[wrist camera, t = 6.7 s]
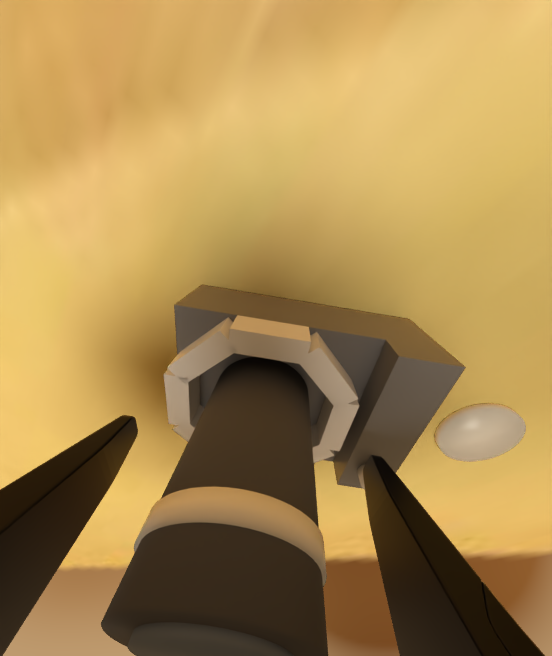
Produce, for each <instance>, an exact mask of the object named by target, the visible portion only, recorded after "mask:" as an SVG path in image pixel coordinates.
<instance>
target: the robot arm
mask: <svg viewBox="0 0 552 656" xmlns="http://www.w3.org/2000/svg"><path fill="white" fill-rule="evenodd" d="M137 434H138V429H137V424H136V419H135V417H133V416H127V415H123V416H120V417H119V418H117V419H115V420H114V421H112V422H111V423H109V424H107V425H106V426H104V427H102V428H101V429H99V430H97V431H96V432H94V433H92V434H91V435H89V436H88V437H86V438H84V439H83V440H81V441H79V442H78V443H76V444H74V445H73V446H71V447H70V448H68V449H66V450H65V451H63V452H61V453H60V454H58V455H56V456H55V457H53V458H51V459H50V460H48V461H47V462H45V463H43V464H42V465H40V466H38V467H37V468H35V469H33V470H32V471H30V472H29V473H27V474H25V475H24V476H22V477H20V478H19V479H17V480H15V481H14V482H12V483H11V484H9V485H7V486H6V487H4V488H2V489H1V490H0V656H3V654H4V653H5V651H6V649H7V648H8V646H9V645H10V643H11V642H12V640H13V638H14V636H15V635H16V633H17V632H18V631H19V629H20V627H21V626H22V624H23V623H24V621H25V619H26V618H27V616H28V615H29V613H30V612H31V610H32V608H33V607H34V605H35V604H36V602H37V601H38V599H39V597H40V596H41V594H42V593H43V591H44V590H45V588H46V586H47V585H48V583H49V582H50V580H51V579H52V577H53V576H54V574H55V572H56V571H57V569H58V568H59V566H60V565H61V563H62V561H63V560H64V558H65V557H66V555H67V554H68V552H69V550H70V549H71V547H72V546H73V544H74V543H75V541H76V539H77V538H78V536H79V535H80V533H81V532H82V530H83V528H84V527H85V525H86V524H87V522H88V521H89V519H90V517H91V516H92V514H93V513H94V511H95V510H96V508H97V506H98V505H99V503H100V502H101V500H102V499H103V497H104V495H105V494H106V492H107V491H108V489H109V487H110V486H111V484H112V483H113V481H114V479H115V477H116V475H117V474H118V472H119V470H120V468H121V466H122V464H123V462H124V460H125V458H126V456H127V454H128V452H129V450H130V449H131V447H132V445H133V443H134V441H135V439H136V437H137ZM363 478H364V485H365V493H366V500H367V508H368V515H369V521H370V526H371V531H372V535H373V540H374V544H375V548H376V553H377V557H378V562H379V566H380V570H381V575H382V579H383V583H384V588H385V592H386V597H387V601H388V605H389V610H390V614H391V619H392V623H393V628H394V632H395V636H396V641H397V645H398V650H399V654H400V656H545V655H544V654H543V653H542V652H541V651H540V649H539V648H538V647H537V646H536V645H535V644H534V642H533V641H532V640H531V639H530V638H529V637H528V635H526V633H525V632H524V631H523V630H522V629H521V627H520V626H519V625H518V624H517V622H516V621H515V620H514V619H513V618H512V617H511V615H510V614H509V613H508V612H507V610H506V609H505V608H504V607H503V606H502V604H501V603H500V602H499V601H498V599H497V598H496V597H495V596H494V595H493V593H492V592H491V591H490V590H489V588H488V587H487V586H486V585H485V583H483V582H481V579H480V577H479V576H478V575H477V574H476V572H475V571H474V570H473V569H472V567H471V566H470V565H469V564H468V562H467V561H466V560H465V559H464V557H463V556H462V555H461V554H460V552H459V551H458V550H457V549H456V548H455V546H454V545H453V544H452V543H451V541H450V540H449V539H448V538H447V536H446V535H445V534H444V533H443V531H442V530H441V529H440V528H439V526H438V525H437V524H436V523H435V521H434V520H433V519H432V518H431V517H430V515H429V514H428V513H427V512H426V510H425V509H424V508H423V507H422V505H421V504H420V503H419V502H418V500H417V499H416V498H415V497H414V495H413V494H412V493H411V492H410V490H409V489H408V488H407V487H406V486H405V484H404V483H403V482H402V481H401V479H400V478H399V477H398V476H397V474H396V473H395V472H394V471H393V469H392V468H391V467H390V466H389V464H388V463H387V462H386V461H385V459H384V458H382V457H381V456H376V455H370V456H369V458H368V460H367V462H366V463H365V465H364V468H363Z"/></svg>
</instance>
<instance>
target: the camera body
mask: <svg viewBox="0 0 552 656" xmlns="http://www.w3.org/2000/svg"><path fill="white" fill-rule="evenodd" d="M174 309H175V325H176V341H177V356H176V357H175V358H174V359H173V361H172V362H171V363H170V364H169V365H168V367H167V368H168V369H167V371H166V372H165V373H164V383H165V393H166V403H167V413H168V422H169V424H173V425H174V427H173V429H172V430H174V431H175V432H176V433H177V434H179V435H180V436H181V437H182V438H184V439H185V440H186V441H187V442H189V440H190V437H191V435H192V433H193V431H194V429H195V427H196V425H197V423H198V421H199V419H200V417H201V415H202V413H203V410H204V408H205V406H206V404H207V402H208V400H209V398H210V396H211V394H212V392H213V390H214V388H215V386H216V384H217V381H218V379H219V377H220V375H221V374H222V372H223V371H224V370H225V369H226V368H227V367H228V366H229V365H231V364H232V363H234V362H236V361H238V360H241V359H244V358H248V357H260V358H266V359H273V360H279V361H282V362H284V363H286V364H288V365H289V366H291V367H292V368H294V369H295V370H296V371H297V372H298V373H299V374H300V375H301V376H302V378H303V379H304V381H305V383H306V385H307V388H308V395H309V408H310V421H311V434H312V448H313V461H314V463H316V462H318V461H321V460H327V461H333V462H334V468H335V474H336V480H337V484H338V485H344V486H350V487H356V488H363V489H364V490H365V485H364V478H363V468H364V465H365V463H366V462H367V460H368V458H369V456H370V455H376V456H381V457H382V458H384V459H385V461H386V462H387V463H388V464H389V466H390V467H391V468H392V469H393V471H394V472H395V473H396V472H397V470H398V469H399V467H400V466H401V464H402V463H403V461H404V460H405V458H406V457H407V455H408V454H409V452H410V451H411V449H412V448H413V446H414V445H415V443H416V441H417V440H418V438H419V437H420V435H421V434H422V432H423V431H424V429H425V428H426V426H427V425H428V423H429V422H430V420H431V419H432V417H433V416H434V414H435V413H436V411H437V410H438V408H439V407H440V405H441V404H442V402H443V401H444V399H445V398H446V396H447V395H448V393H449V392H450V390H451V389H452V387H453V386H454V384H455V383H456V381H457V380H458V378H459V377H460V375H461V374H462V372H463V371H464V369H465V368H466V367H465V366H464V365H462V364H461V363H460V362H459V361H458V360H457V359H455V358H454V357H453V356H452V355H451V354H450V353H448V352H447V351H446V350H445V349H444V348H443V347H441V346H440V345H439V344H438V343H437V342H436V341H434V340H433V339H432V338H431V337H430V336H429V335H427V334H426V333H425V332H424V331H423V330H422V329H420V328H419V327H418V326H417V325H416V324H415V323H413V322H412V321H411V320H410V319H406V318H400V317H394V316H388V315H381V314H375V313H369V312H363V311H357V310H351V309H345V308H339V307H333V306H327V305H321V304H315V303H309V302H303V301H297V300H291V299H285V298H279V297H273V296H267V295H261V294H255V293H249V292H243V291H237V290H231V289H224V288H218V287H212V286H206V285H201V286H199V287H198V288H197V289H195V290H194V291H193V292H191V293H190V294H188V295H187V296H186V297H184V298H183V299H182V300H180V301H179V302H177V303H176V304H175V305H174Z"/></svg>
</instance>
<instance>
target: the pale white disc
mask: <svg viewBox="0 0 552 656" xmlns="http://www.w3.org/2000/svg"><path fill="white" fill-rule="evenodd" d="M525 430H526V425H525V422H524V420H523V419H522V418H521V417H520V416H519V415H518V414H517V413H516V412H515V411H513V410H512V409H511V408H509V407H507V406H504V405H500V404H494V403H483V404H475V405H471V406H467V407H464V408H462V409H459V410H457V411H455V412H453V413H452V414H450V415H449V416H447V417H446V418H445V419H444V420H443V421H442V422H441V423H440V424H439V426H438V427H437V429H436V432H435V441H436V443H437V445H438V446H439V448H440V449H441V451H442V452H443V453H444V454H445V455H446V456H448V457H450V458H452V459H455V460H459V461H481V460H486V459H490V458H494V457H496V456H499V455H501V454H503V453H505V452H507V451H509V450H510V449H512V448H513V447H515V446H516V445H517V444H518V443H519V442H520V441H521V439H522V438H523V436H524V434H525Z"/></svg>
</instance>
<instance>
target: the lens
mask: <svg viewBox="0 0 552 656" xmlns="http://www.w3.org/2000/svg"><path fill="white" fill-rule="evenodd" d="M134 551H135V554H134V556H133V558H132V560H131V562H130V564H129V566H128V568H127V570H126V572H125V575H124V577H123V578H122V581H121V583H120V585H119V587H118V589H117V591H116V593H115V595H114V597H113V599H112V601H111V603H110V606H109V608H108V610H107V612H106V614H105V616H104V618H103V620H102V622H101V627H102V629H103V631H104V632H105V633H106V634H107V635H108V636H110V637H111V638H113V639H114V640H116V641H117V642H119V643H121V644H123V645H125V646H127V647H128V649H129V650H130V652H132V653H133V654H134V655H136V656H328V647H327V634H326V621H325V607H324V594H323V587H324V585H325V583H326V577H327V575H326V563H325V552H324V541H323V536H322V534H321V532H320V530H319V527H318V514H317V501H316V488H315V474H314V461H313V448H312V434H311V421H310V408H309V395H308V388H307V385H306V383H305V381H304V379H303V378H302V376H301V375H300V374H299V373H298V372H297V371H296V370H295V369H294V368H292V367H291V366H289V365H288V364H286V363H284V362H282V361H279V360H273V359H266V358H260V357H248V358H244V359H241V360H238V361H236V362H234V363H232V364H231V365H229V366H228V367H227V368H226V369H225V370H224V371H223V372H222V374H221V375H220V377H219V379H218V381H217V384H216V386H215V388H214V390H213V392H212V394H211V396H210V398H209V400H208V402H207V404H206V406H205V408H204V410H203V413H202V415H201V417H200V419H199V421H198V423H197V425H196V427H195V429H194V431H193V433H192V435H191V437H190V440H189V442H188V444H187V446H186V448H185V450H184V452H183V454H182V456H181V458H180V460H179V462H178V464H177V466H176V469H175V471H174V473H173V475H172V477H171V479H170V481H169V483H168V485H167V487H166V489H165V491H164V493H163V496H162V498H161V499H160V500H159V501H157V502H156V504H155V505H154V506H153V507H152V509H151V511H150V513H149V515H148V517H147V519H146V521H145V523H144V525H143V527H142V529H141V531H140V533H139V535H138V537H137V539H136V541H135V544H134Z"/></svg>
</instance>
